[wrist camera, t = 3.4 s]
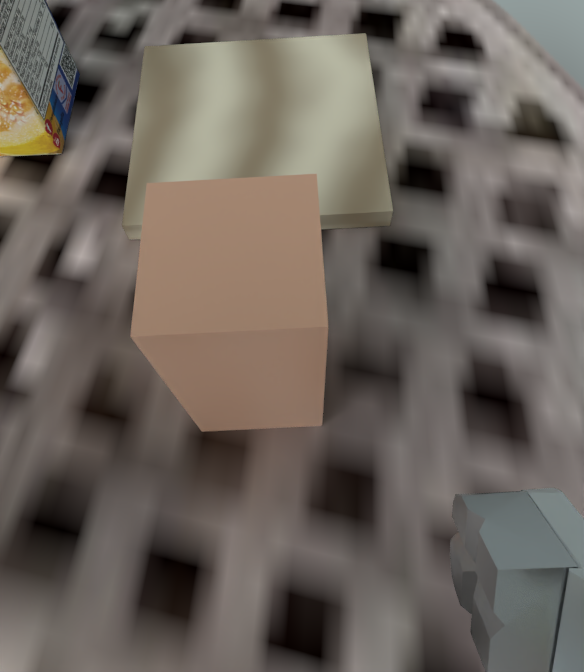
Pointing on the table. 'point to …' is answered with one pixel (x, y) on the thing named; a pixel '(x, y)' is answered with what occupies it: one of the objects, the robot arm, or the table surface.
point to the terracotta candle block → (235, 299)
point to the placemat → (263, 122)
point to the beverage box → (33, 80)
